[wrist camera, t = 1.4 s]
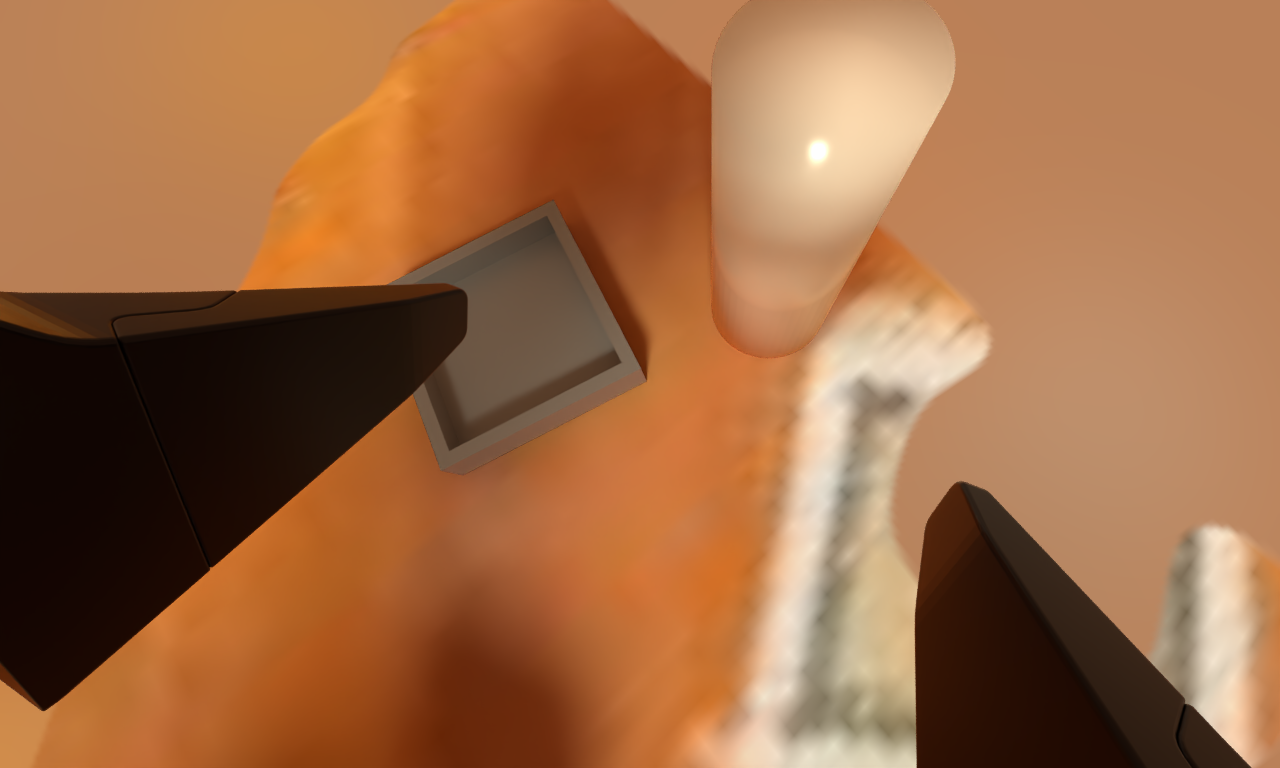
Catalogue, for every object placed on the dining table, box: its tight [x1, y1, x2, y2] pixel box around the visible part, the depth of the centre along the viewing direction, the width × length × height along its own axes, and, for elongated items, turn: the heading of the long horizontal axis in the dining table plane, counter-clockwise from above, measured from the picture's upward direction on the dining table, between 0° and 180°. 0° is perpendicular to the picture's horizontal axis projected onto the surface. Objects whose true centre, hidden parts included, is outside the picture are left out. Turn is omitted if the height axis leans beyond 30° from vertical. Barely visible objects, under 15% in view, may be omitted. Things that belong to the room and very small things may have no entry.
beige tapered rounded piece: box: [711, 0, 955, 358], centre depth 17 cm, size 5×5×13 cm
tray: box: [387, 200, 646, 475], centre depth 24 cm, size 9×9×2 cm
